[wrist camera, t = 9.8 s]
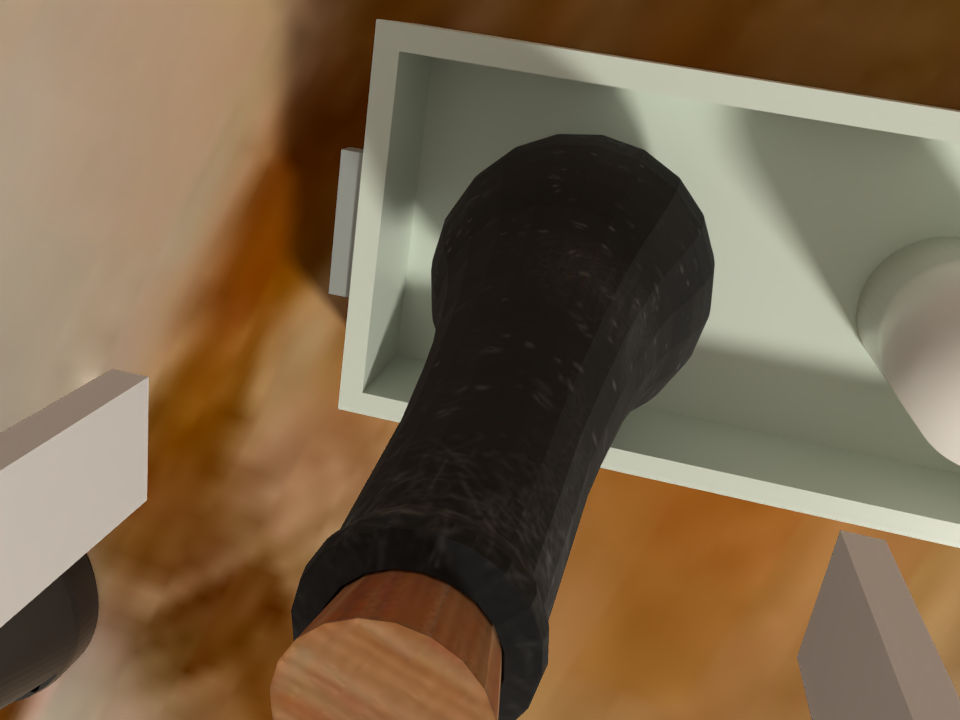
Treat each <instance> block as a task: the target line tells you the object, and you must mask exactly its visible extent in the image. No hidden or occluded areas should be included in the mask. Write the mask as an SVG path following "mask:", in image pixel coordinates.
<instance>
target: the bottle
mask: <svg viewBox="0 0 960 720" xmlns="http://www.w3.org/2000/svg"><path fill="white" fill-rule="evenodd" d="M714 268H715V261H714V255H713V251H712V247H711V242H710V238H709V234H708V230H707V226H706V222H705V218H704V215H703V213H702V211H701V210H700V208H699V207H698V205H697V204H696V202H695V201H694V199H693V197H692V196H691V194H690V193H689V191H688V190H687V188H686V187H685V185H684V184H683V182H682V180H681V179H680V177H678V176H677V175H676V174H674V173H673V172H672V171H671V170H669V169H668V168H667V167H666V166H664V165H663V164H662V163H661V162H659V161H658V160H657V159H655V158H654V157H653V156H652V155H650V154H649V153H648V152H647V151H645V150H644V149H641V148H638V147H635V146H632V145H629V144H627V143H624V142H621V141H618V140H615V139H613V138H610V137H607V136H604V135H588V134H556V135H553V136H549V137H546V138H543V139H540V140H537V141H533V142H530V143H527V144H524V145H521V146H518V147H515V148H514V149H512V150H511V151H510V152H508V153H507V154H505V155H504V156H503V157H501V158H500V159H499V160H497V161H496V162H494V163H493V164H492V165H490V166H489V167H487V168H486V169H485V170H483V171H482V172H481V173H479V174H478V175H477V176H476V177H475V178H474V179H473V181H472V182H471V183H470V185H469V186H468V187H467V189H466V190H465V192H464V193H463V194H462V196H461V197H460V199H459V200H458V201H457V203H456V204H455V206H454V207H453V208H452V210H451V211H450V213H449V214H448V216H447V217H446V218H445V221H444V224H443V227H442V231H441V234H440V237H439V240H438V244H437V247H436V250H435V253H434V256H433V260H432V267H431V299H432V319H433V323H434V326H435V335H434V340H433V343H432V346H431V349H430V351H429V354H428V357H427V360H426V362H425V365H424V368H423V370H422V373H421V375H420V377H419V380H418V382H417V384H416V387H415V389H414V391H413V394H412V396H411V398H410V401H409V403H408V405H407V408H406V410H405V412H404V415H403V417H402V419H401V421H400V423H399V425H398V427H397V428H396V430H395V432H394V434H393V436H392V437H391V439H390V441H389V443H388V445H387V446H386V448H385V450H384V452H383V454H382V455H381V457H380V459H379V461H378V463H377V464H376V466H375V468H374V470H373V471H372V473H371V475H370V477H369V479H368V480H367V482H366V484H365V486H364V488H363V489H362V491H361V493H360V495H359V497H358V498H357V500H356V502H355V504H354V505H353V507H352V509H351V511H350V513H349V514H348V516H347V518H346V520H345V522H344V523H343V525H342V527H341V529H340V530H339V531H337V532H335V533H334V534H333V535H331V536H330V537H329V538H328V539H327V540H326V541H325V542H324V543H323V545H322V546H321V547H320V549H319V550H318V551H317V552H316V554H315V555H314V556H313V557H312V559H311V560H310V561H309V562H308V564H307V565H306V567H305V569H304V572H303V574H302V577H301V579H300V582H299V586H298V589H297V593H296V596H295V600H294V603H293V606H292V610H291V613H292V625H293V637H294V642H293V643H292V645H291V646H290V647H289V648H288V649H287V651H286V652H285V653H284V654H283V656H282V657H281V658H280V659H279V660H278V662H277V666H276V669H275V673H274V676H273V680H272V683H271V686H270V695H271V706H272V717H273V720H516V719H517V718H518V717H519V716H520V715H521V714H523V713H524V712H525V711H526V710H527V709H528V707H529V705H530V703H531V701H532V698H533V696H534V694H535V692H536V689H537V687H538V685H539V683H540V680H541V678H542V676H543V674H544V671H545V669H546V667H547V665H548V644H549V623H548V620H549V617H550V614H551V611H552V608H553V604H554V601H555V598H556V595H557V592H558V588H559V585H560V582H561V579H562V576H563V573H564V569H565V566H566V563H567V560H568V557H569V554H570V550H571V547H572V544H573V541H574V538H575V535H576V531H577V528H578V525H579V522H580V519H581V515H582V512H583V509H584V506H585V503H586V500H587V496H588V494H589V492H590V489H591V487H592V485H593V482H594V480H595V478H596V476H597V473H598V471H599V469H600V467H601V465H602V463H603V461H604V459H605V457H606V455H607V453H608V451H609V449H610V447H611V445H612V443H613V441H614V438H615V436H616V434H617V432H618V430H619V428H620V426H621V424H622V422H623V421H624V419H625V418H626V417H627V415H628V414H629V413H630V412H631V411H633V410H635V409H636V408H638V407H640V406H642V405H643V404H645V403H647V402H648V401H650V400H651V399H652V398H654V397H655V396H656V395H657V394H658V393H659V392H660V391H661V390H662V389H663V388H664V386H665V385H666V384H667V383H668V382H669V381H670V380H671V379H672V378H673V377H674V376H675V375H676V373H677V372H678V371H679V370H680V369H681V368H682V367H683V366H684V365H685V363H686V362H687V361H688V360H689V358H690V357H691V356H692V353H693V351H694V349H695V347H696V345H697V342H698V340H699V338H700V336H701V333H702V331H703V329H704V327H705V324H706V322H707V320H708V318H709V314H710V309H711V300H712V289H713V278H714Z"/></svg>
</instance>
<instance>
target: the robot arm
mask: <svg viewBox="0 0 960 720" xmlns="http://www.w3.org/2000/svg"><path fill="white" fill-rule="evenodd" d="M148 392H149V377H147V376H143V375H138V374H134V373H129V372H125V371H120V370H116V369H111V370H110V371H108V372H106V373H104V374H103V375H101V376H99V377H97V378H96V379H94V380H92V381H90V382H89V383H87V384H85V385H83V386H82V387H80V388H78V389H76V390H75V391H73V392H71V393H70V394H68V395H66V396H64V397H63V398H61V399H59V400H57V401H56V402H54V403H52V404H50V405H49V406H47V407H45V408H43V409H42V410H40V411H38V412H37V413H35V414H33V415H31V416H30V417H28V418H26V419H24V420H23V421H21V422H19V423H17V424H16V425H14V426H12V427H10V428H9V429H7V430H5V431H4V432H2V433H0V709H2V708H3V707H5V706H6V705H8V704H10V703H12V702H14V701H18V700H22V699H25V698H27V697H30V696H32V695H34V694H36V693H38V692H40V691H42V690H43V689H45V688H46V687H48V686H49V685H50V684H52V683H53V682H54V681H56V680H57V679H58V678H59V677H60V676H61V675H62V674H63V673H64V672H65V671H66V670H67V669H68V668H69V667H70V666H71V665H72V664H73V663H74V662H75V661H76V660H77V659H78V658H79V657H80V656H81V654H82V653H83V652H84V651H85V649H86V648H87V646H88V645H89V643H90V641H91V639H92V637H93V634H94V631H95V628H96V624H97V619H98V593H97V586H96V582H95V578H94V574H93V571H92V568H91V565H90V563H89V561H88V558H87V556H86V553H87V552H88V551H89V550H90V549H91V548H92V547H94V546H95V545H96V544H97V543H98V542H99V541H101V540H102V539H103V538H104V537H105V536H106V535H107V534H109V533H110V532H111V531H112V530H113V529H114V528H115V527H117V526H118V525H119V524H120V523H121V522H122V521H123V520H125V519H126V518H127V517H128V516H129V515H130V514H132V513H133V512H134V511H135V510H136V509H137V508H138V507H140V506H141V505H142V504H143V503H144V502H145V501H146V500H147V462H148ZM797 658H798V663H799V667H800V671H801V676H802V680H803V684H804V689H805V693H806V697H807V702H808V706H809V710H810V715H811V719H812V720H960V699H959V696H958V694H957V692H956V690H955V688H954V686H953V684H952V681H951V679H950V677H949V675H948V673H947V671H946V669H945V666H944V664H943V662H942V660H941V658H940V656H939V654H938V652H937V649H936V647H935V645H934V643H933V641H932V639H931V637H930V634H929V632H928V630H927V628H926V626H925V624H924V622H923V619H922V617H921V615H920V613H919V611H918V609H917V607H916V605H915V602H914V600H913V598H912V596H911V594H910V592H909V590H908V587H907V585H906V583H905V581H904V579H903V577H902V575H901V572H900V570H899V568H898V566H897V564H896V562H895V560H894V558H893V555H892V553H891V551H890V549H889V547H888V545H887V543H886V540H882V539H877V538H873V537H868V536H864V535H859V534H855V533H850V532H846V531H841V530H840V533H839V536H838V539H837V542H836V545H835V548H834V550H833V553H832V556H831V559H830V562H829V565H828V568H827V571H826V574H825V577H824V580H823V583H822V586H821V589H820V592H819V594H818V597H817V600H816V603H815V606H814V609H813V612H812V615H811V618H810V621H809V624H808V627H807V630H806V633H805V636H804V639H803V641H802V644H801V647H800V650H799V653H798V656H797Z"/></svg>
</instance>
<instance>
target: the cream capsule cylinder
mask: <svg viewBox="0 0 960 720" xmlns="http://www.w3.org/2000/svg"><path fill="white" fill-rule="evenodd" d="M856 320H857V329H858V334H859V337H860V339H861V342H862V344H863V346H864V348H865V350H866V351H867V353H868V354H869V356H870V357H871V359H872V360H873V362H874V363H875V365H876V366H877V368H878V369H879V371H880V372H881V374H882V375H883V376H884V378H885V379H886V381H887V382H888V384H889V385H890V387H891V388H892V390H893V391H894V393H895V394H896V396H897V397H898V399H899V400H900V402H901V403H902V405H903V406H904V408H905V409H906V411H907V412H908V414H909V415H910V416H911V418H912V419H913V421H914V422H915V424H916V425H917V427H918V428H919V430H920V431H921V433H922V434H923V436H924V437H925V438H926V440H927V441H928V442H929V443H930V444H931V445H932V446H933V447H934V448H935V449H936V450H937V451H938V452H939V453H940V454H942V455H943V456H944V457H946V458H947V459H949V460H950V461H952V462H954V463H956V464H957V465H960V237H935V238H928V239H924V240H920V241H917V242H915V243H912V244H909V245H907V246H905V247H903V248H901V249H899V250H898V251H896V252H895V253H893V254H892V255H890V256H889V257H888V258H886V259H885V260H884V261H883V262H882V263H881V264H880V265H879V266H878V267H877V268H876V269H875V270H874V271H873V273H872V274H871V275H870V277H869V278H868V280H867V281H866V283H865V285H864V287H863V289H862V292H861V294H860V297H859V301H858V305H857V313H856Z"/></svg>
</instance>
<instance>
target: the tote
mask: <svg viewBox="0 0 960 720" xmlns="http://www.w3.org/2000/svg"><path fill="white" fill-rule="evenodd" d="M556 134H588V135H604V136H607V137H610V138H613V139H615V140H618V141H621V142H624V143H627V144H629V145H632V146H635V147H638V148H641V149H644V150H645V151H647V152H648V153H649V154H650V155H652V156H653V157H654V158H655V159H657V160H658V161H659V162H661V163H662V164H663V165H664V166H666V167H667V168H668V169H669V170H671V171H672V172H673V173H674V174H676V175H677V176H678V177H680V179H681V180H682V182H683V184H684V185H685V187H686V188H687V190H688V191H689V193H690V194H691V196H692V197H693V199H694V201H695V202H696V204H697V205H698V207H699V208H700V210H701V211H702V213H703V215H704V218H705V222H706V226H707V230H708V234H709V238H710V242H711V247H712V251H713V255H714V261H715V268H714V278H713V289H712V300H711V309H710V314H709V318H708V320H707V322H706V324H705V327H704V329H703V331H702V333H701V336H700V338H699V340H698V342H697V345H696V347H695V349H694V351H693V353H692V356H691V357H690V358H689V360H688V361H687V362H686V363H685V365H684V366H683V367H682V368H681V369H680V370H679V371H678V372H677V373H676V375H675V376H674V377H673V378H672V379H671V380H670V381H669V382H668V383H667V384H666V385H665V386H664V388H663V389H662V390H661V391H660V392H659V393H658V394H657V395H656V396H655V397H654V398H652V399H651V400H650V401H648V402H647V403H645V404H643V405H642V406H640V407H638V408H636V409H635V410H633V411H631V412H630V413H629V414H628V415H627V417H626V418H625V419H624V421H623V422H622V424H621V426H620V428H619V430H618V432H617V434H616V436H615V438H614V441H613V443H612V445H611V447H610V449H609V451H608V453H607V455H606V457H605V459H604V461H603V463H602V465H601V467H600V468H605V469H609V470H614V471H618V472H623V473H627V474H632V475H636V476H641V477H645V478H649V479H654V480H658V481H663V482H667V483H672V484H676V485H681V486H685V487H690V488H694V489H699V490H703V491H708V492H712V493H717V494H721V495H725V496H730V497H734V498H739V499H743V500H748V501H752V502H757V503H761V504H766V505H770V506H775V507H779V508H784V509H788V510H792V511H797V512H801V513H806V514H810V515H815V516H819V517H824V518H828V519H833V520H837V521H842V522H846V523H851V524H855V525H860V526H864V527H868V528H873V529H877V530H882V531H886V532H891V533H895V534H900V535H904V536H909V537H913V538H918V539H922V540H927V541H931V542H936V543H940V544H944V545H949V546H953V547H958V548H960V465H957V464H956V463H954V462H952V461H950V460H949V459H947V458H946V457H944V456H943V455H942V454H940V453H939V452H938V451H937V450H936V449H935V448H934V447H933V446H932V445H931V444H930V443H929V442H928V441H927V440H926V438H925V437H924V436H923V434H922V433H921V431H920V430H919V428H918V427H917V425H916V424H915V422H914V421H913V419H912V418H911V416H910V415H909V414H908V412H907V411H906V409H905V408H904V406H903V405H902V403H901V402H900V400H899V399H898V397H897V396H896V394H895V393H894V391H893V390H892V388H891V387H890V385H889V384H888V382H887V381H886V379H885V378H884V376H883V375H882V374H881V372H880V371H879V369H878V368H877V366H876V365H875V363H874V362H873V360H872V359H871V357H870V356H869V354H868V353H867V351H866V350H865V348H864V346H863V344H862V342H861V339H860V337H859V334H858V329H857V320H856V313H857V305H858V301H859V297H860V294H861V292H862V289H863V287H864V285H865V283H866V281H867V280H868V278H869V277H870V275H871V274H872V273H873V271H874V270H875V269H876V268H877V267H878V266H879V265H880V264H881V263H882V262H883V261H884V260H885V259H886V258H888V257H889V256H890V255H892V254H893V253H895V252H896V251H898V250H899V249H901V248H903V247H905V246H907V245H909V244H912V243H915V242H917V241H920V240H924V239H928V238H935V237H960V110H955V109H949V108H943V107H936V106H930V105H924V104H918V103H911V102H905V101H899V100H893V99H886V98H880V97H874V96H868V95H861V94H855V93H849V92H843V91H836V90H830V89H824V88H817V87H811V86H805V85H799V84H792V83H786V82H780V81H774V80H767V79H761V78H755V77H749V76H742V75H736V74H730V73H724V72H717V71H711V70H705V69H699V68H692V67H686V66H680V65H673V64H667V63H661V62H655V61H648V60H642V59H636V58H630V57H623V56H617V55H611V54H605V53H598V52H592V51H586V50H580V49H573V48H567V47H561V46H554V45H548V44H542V43H536V42H529V41H523V40H517V39H511V38H504V37H498V36H492V35H486V34H479V33H473V32H467V31H461V30H454V29H448V28H442V27H435V26H429V25H423V24H416V23H408V22H399V21H391V20H382V19H376V27H375V38H374V48H373V58H372V68H371V79H370V89H369V99H368V109H367V119H366V130H365V140H364V149H359V148H353V147H348V148H344V149H341V160H340V171H339V182H338V193H337V205H336V216H335V227H334V238H333V250H332V261H331V272H330V283H329V294H333V295H338V296H343V297H348V298H349V303H348V313H347V324H346V334H345V344H344V354H343V364H342V375H341V385H340V395H339V405H338V409H341V410H346V411H350V412H355V413H359V414H363V415H368V416H372V417H377V418H381V419H386V420H390V421H395V422H399V423H400V421H401V419H402V417H403V415H404V412H405V410H406V408H407V405H408V403H409V401H410V398H411V396H412V394H413V391H414V389H415V387H416V384H417V382H418V380H419V377H420V375H421V373H422V370H423V368H424V365H425V362H426V360H427V357H428V354H429V351H430V349H431V346H432V343H433V340H434V335H435V326H434V323H433V319H432V299H431V267H432V260H433V256H434V253H435V250H436V247H437V244H438V240H439V237H440V234H441V231H442V227H443V224H444V221H445V218H446V217H447V216H448V214H449V213H450V211H451V210H452V208H453V207H454V206H455V204H456V203H457V201H458V200H459V199H460V197H461V196H462V194H463V193H464V192H465V190H466V189H467V187H468V186H469V185H470V183H471V182H472V181H473V179H474V178H475V177H476V176H477V175H478V174H479V173H481V172H482V171H483V170H485V169H486V168H487V167H489V166H490V165H492V164H493V163H494V162H496V161H497V160H499V159H500V158H501V157H503V156H504V155H505V154H507V153H508V152H510V151H511V150H512V149H514V148H515V147H518V146H521V145H524V144H527V143H530V142H533V141H537V140H540V139H543V138H546V137H549V136H553V135H556Z"/></svg>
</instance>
